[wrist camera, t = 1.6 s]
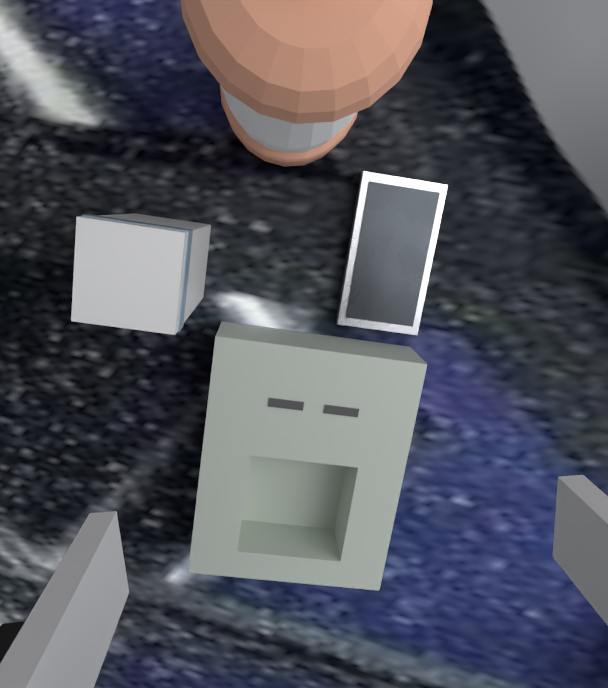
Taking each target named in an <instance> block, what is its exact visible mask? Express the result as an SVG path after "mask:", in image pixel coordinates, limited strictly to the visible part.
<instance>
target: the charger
mask: <svg viewBox="0 0 608 688" xmlns="http://www.w3.org/2000/svg"><path fill="white" fill-rule="evenodd" d="M210 229H211V225H209V224H202V223H196V222H189V221H182V220H176V219H169V218H162V217H156V216H149V215H143V214H136V213H135V214H116V215H92V214H89V215H82V216H78V217H76V236H75V255H74V274H73V294H72V313H71V321H74V322H81V323H89V324H96V325H104V326H112V327H119V328H127V329H134V330H142V331H150V332H157V333H165V334H172V335H175V334H176V333H177V332H179V331H180V330H181V329H182V327H183V324H184V322H185V321H186V320H187V318H188V317H189V316H190V314H191V313H192V312H193V310H194V309H195V308H196V306H197V305H198V304H199V302H200V301H201V300H202V298H203V294H204V285H205V276H206V266H207V257H208V248H209V239H210Z"/></svg>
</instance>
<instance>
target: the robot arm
mask: <svg viewBox="0 0 608 688" xmlns="http://www.w3.org/2000/svg"><path fill="white" fill-rule="evenodd" d="M553 558H554V559H555V560H556V562H557V563H558V564H559V565H560V567H561V568H562V569H563V570H564V572H565V573H566V574H567V575H568V577H569V578H570V579H571V580H572V582H573V583H574V584H575V585H576V587H577V588H578V589H579V590H580V592H581V593H582V594H583V595H584V597H585V598H586V599H587V600H588V602H589V603H590V604H591V605H592V607H593V608H594V609H595V610H596V612H597V613H598V614H599V615H600V617H601V618H602V619H603V620H604V622H605V623H606V624H607V625H608V496H607V495H606V494H604V493H603V492H602V491H601V490H600V489H599V488H597V487H596V486H595V485H594V484H593V483H592V482H591V481H589V480H588V479H587V478H586V477H585V476H584V475H575V476H562V477H558V485H557V500H556V516H555V531H554V546H553ZM128 594H129V588H128V582H127V576H126V569H125V563H124V556H123V550H122V543H121V537H120V531H119V524H118V518H117V511H112V512H99V513H90V514H89V515H88V517H87V519H86V520H85V522H84V524H83V525H82V527H81V529H80V530H79V532H78V534H77V536H76V537H75V539H74V541H73V542H72V544H71V546H70V547H69V549H68V551H67V552H66V554H65V556H64V557H63V559H62V561H61V562H60V564H59V566H58V567H57V569H56V571H55V572H54V574H53V576H52V578H51V579H50V581H49V583H48V584H47V586H46V588H45V589H44V591H43V593H42V594H41V596H40V598H39V599H38V601H37V603H36V604H35V606H34V608H33V609H32V611H31V613H30V614H29V616H28V618H27V620H26V621H25V622H17V623H5V624H2V625H1V626H0V688H94V685H95V683H96V680H97V677H98V675H99V672H100V669H101V666H102V664H103V661H104V658H105V656H106V653H107V650H108V648H109V645H110V642H111V640H112V637H113V634H114V632H115V629H116V626H117V623H118V621H119V618H120V615H121V613H122V610H123V607H124V605H125V602H126V599H127V597H128Z"/></svg>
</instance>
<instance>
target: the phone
mask: <svg viewBox="0 0 608 688" xmlns="http://www.w3.org/2000/svg"><path fill="white" fill-rule="evenodd" d="M447 188H448V185H445V184H439V183H433V182H427V181H421V180H415V179H409V178H403V177H396V176H390V175H384V174H378V173H372V172H366V171H362V172H361V173H360V179H359V185H358V191H357V197H356V203H355V209H354V215H353V221H352V227H351V233H350V239H349V245H348V251H347V257H346V263H345V269H344V275H343V281H342V286H341V292H340V298H339V304H338V310H337V316H336V322H337V324H339V325H347V326H354V327H361V328H368V329H376V330H383V331H390V332H397V333H405V334H412V335H417V334H418V329H419V324H420V319H421V314H422V310H423V305H424V300H425V295H426V290H427V285H428V280H429V275H430V270H431V266H432V261H433V256H434V251H435V246H436V241H437V236H438V231H439V227H440V222H441V217H442V212H443V207H444V202H445V197H446V192H447Z"/></svg>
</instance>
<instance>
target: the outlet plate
mask: <svg viewBox="0 0 608 688" xmlns="http://www.w3.org/2000/svg"><path fill="white" fill-rule="evenodd" d="M426 368H427V363H426V362H425V361H424V360H423V359H422V358H421V357H420V356H419V355H418V354H417V353H416V352H415V351H414V350H413V349H412V348H411V347H408V346H401V345H393V344H386V343H379V342H371V341H364V340H356V339H349V338H342V337H334V336H327V335H320V334H312V333H305V332H297V331H290V330H283V329H275V328H268V327H260V326H253V325H246V324H238V323H231V322H223V321H222V322H221V324H220V327H219V329H218V331H217V334H216V336H215V344H214V352H213V361H212V370H211V378H210V387H209V396H208V404H207V413H206V421H205V430H204V439H203V447H202V456H201V465H200V473H199V482H198V491H197V499H196V508H195V516H194V525H193V534H192V542H191V551H190V560H189V568H188V573H197V574H207V575H218V576H229V577H240V578H250V579H261V580H272V581H282V582H293V583H304V584H314V585H325V586H336V587H347V588H357V589H368V590H380V585H381V580H382V575H383V571H384V566H385V561H386V557H387V552H388V547H389V542H390V538H391V533H392V528H393V524H394V519H395V514H396V509H397V505H398V500H399V495H400V491H401V486H402V481H403V476H404V472H405V467H406V462H407V458H408V453H409V448H410V443H411V439H412V434H413V429H414V425H415V420H416V415H417V410H418V406H419V401H420V396H421V392H422V387H423V382H424V377H425V373H426Z"/></svg>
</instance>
